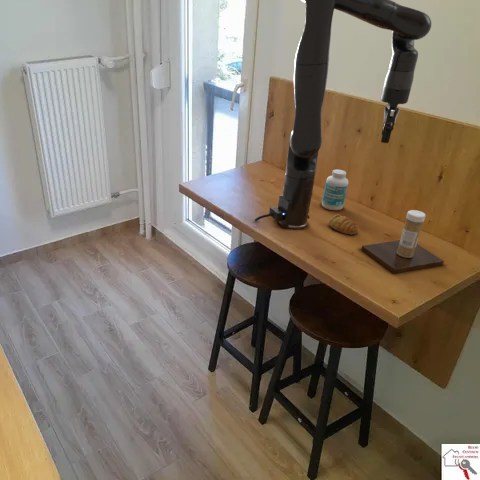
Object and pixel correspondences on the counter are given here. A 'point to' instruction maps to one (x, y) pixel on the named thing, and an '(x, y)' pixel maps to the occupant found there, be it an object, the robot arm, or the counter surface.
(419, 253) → the walnut board
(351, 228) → the pastry
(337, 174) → the pill bottle
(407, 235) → the sprinkles bottle
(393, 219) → the counter surface
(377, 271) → the counter surface
